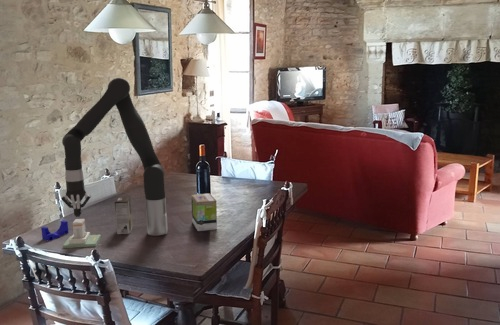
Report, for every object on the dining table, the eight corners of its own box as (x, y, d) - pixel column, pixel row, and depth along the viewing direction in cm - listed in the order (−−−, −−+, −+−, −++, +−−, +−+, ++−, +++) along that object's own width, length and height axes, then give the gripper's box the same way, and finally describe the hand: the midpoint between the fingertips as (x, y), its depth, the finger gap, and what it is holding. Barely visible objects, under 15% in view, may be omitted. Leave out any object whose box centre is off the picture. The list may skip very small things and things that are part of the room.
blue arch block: (48, 241, 225) (47, 229, 223) (42, 239, 227) (41, 227, 226) (70, 233, 234) (69, 221, 233) (64, 232, 237) (63, 220, 236)
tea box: (217, 229, 236) (216, 200, 233) (197, 231, 234) (196, 202, 231) (211, 220, 251) (210, 192, 248) (191, 222, 248) (190, 194, 245)
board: (100, 236, 229) (100, 230, 228) (95, 246, 217) (95, 239, 216) (70, 238, 227) (69, 231, 227) (63, 248, 216) (62, 241, 215)
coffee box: (119, 228, 241) (117, 196, 237) (132, 227, 241) (130, 196, 238) (116, 234, 232) (114, 201, 228) (130, 233, 232) (128, 201, 229)
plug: (86, 237, 225) (84, 218, 223) (83, 242, 219) (81, 222, 217) (77, 237, 224) (75, 219, 222) (73, 242, 218) (72, 223, 217)
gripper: (91, 176, 220) (94, 213, 224) (61, 177, 219) (65, 214, 223) (88, 180, 213) (91, 218, 217) (56, 181, 212) (60, 219, 215)
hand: (77, 216), depth 220 cm, fingers closed
